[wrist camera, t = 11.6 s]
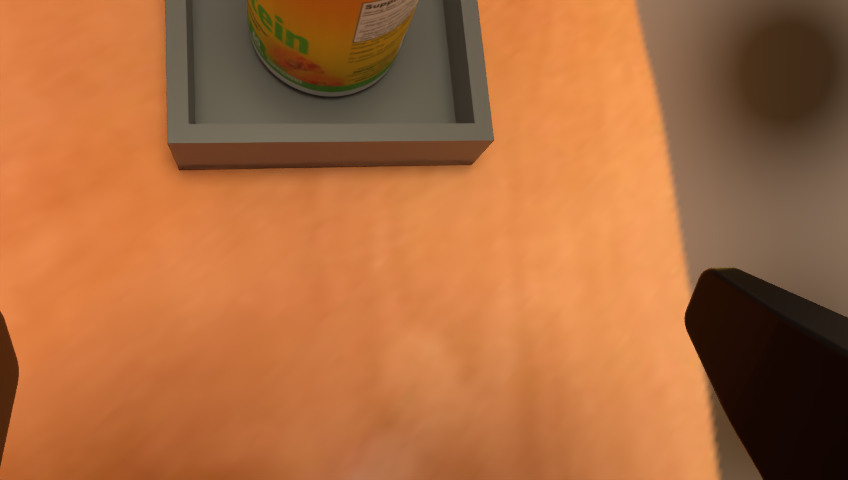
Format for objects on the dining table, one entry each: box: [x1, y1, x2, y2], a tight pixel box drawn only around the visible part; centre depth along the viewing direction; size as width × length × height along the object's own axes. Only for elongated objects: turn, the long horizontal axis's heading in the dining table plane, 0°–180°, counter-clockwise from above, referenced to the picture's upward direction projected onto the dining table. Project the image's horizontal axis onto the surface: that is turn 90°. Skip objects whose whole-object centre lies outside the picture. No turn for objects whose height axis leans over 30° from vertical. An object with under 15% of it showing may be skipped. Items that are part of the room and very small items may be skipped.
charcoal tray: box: [165, 0, 494, 170], centre depth 23 cm, size 10×10×2 cm
